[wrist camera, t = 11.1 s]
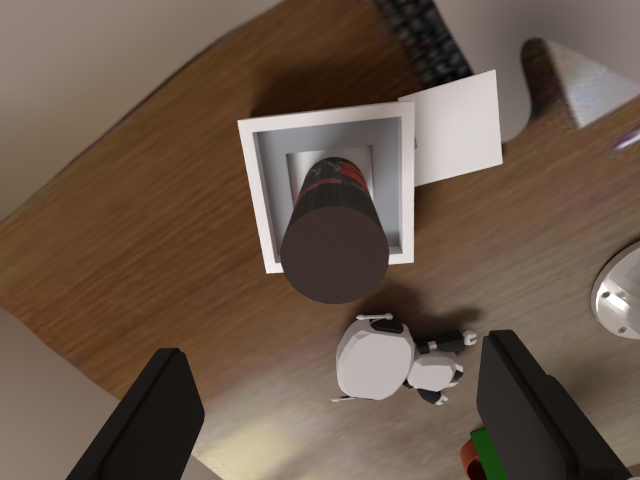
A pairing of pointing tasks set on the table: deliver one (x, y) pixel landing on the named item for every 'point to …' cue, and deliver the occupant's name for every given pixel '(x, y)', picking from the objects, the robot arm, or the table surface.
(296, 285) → the deodorant
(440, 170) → the lid
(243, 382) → the table surface
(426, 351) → the robot toy
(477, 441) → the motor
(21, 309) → the table surface
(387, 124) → the housing
